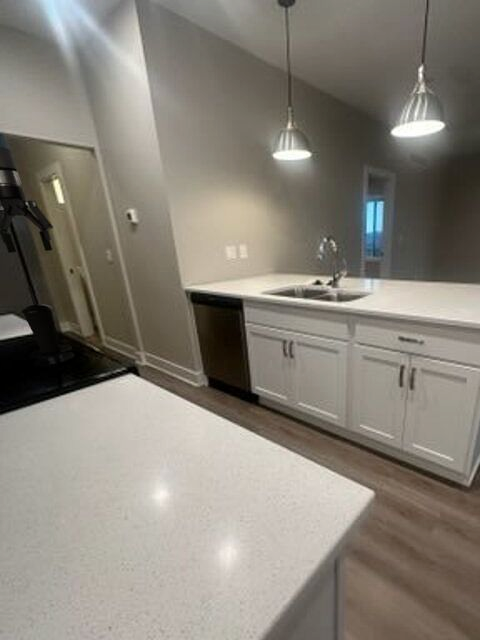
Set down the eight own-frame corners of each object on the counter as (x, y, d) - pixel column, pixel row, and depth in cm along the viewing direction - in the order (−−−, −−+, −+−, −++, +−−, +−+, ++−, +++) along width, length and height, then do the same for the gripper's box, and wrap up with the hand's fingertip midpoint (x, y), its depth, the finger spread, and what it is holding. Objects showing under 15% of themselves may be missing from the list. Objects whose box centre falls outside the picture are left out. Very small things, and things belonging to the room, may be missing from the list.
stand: (26, 367, 108) (21, 356, 106) (57, 354, 117) (54, 343, 116) (52, 370, 105) (48, 358, 103) (83, 356, 114) (79, 345, 113)
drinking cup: (48, 346, 113) (26, 285, 105) (70, 345, 113) (50, 284, 105) (31, 355, 106) (6, 290, 98) (54, 354, 106) (31, 289, 98)
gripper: (51, 184, 119) (70, 248, 127) (-18, 189, 120) (5, 252, 128) (36, 182, 112) (57, 250, 120) (-38, 187, 113) (-12, 254, 121)
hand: (30, 251), depth 124 cm, fingers open, 13 cm apart
